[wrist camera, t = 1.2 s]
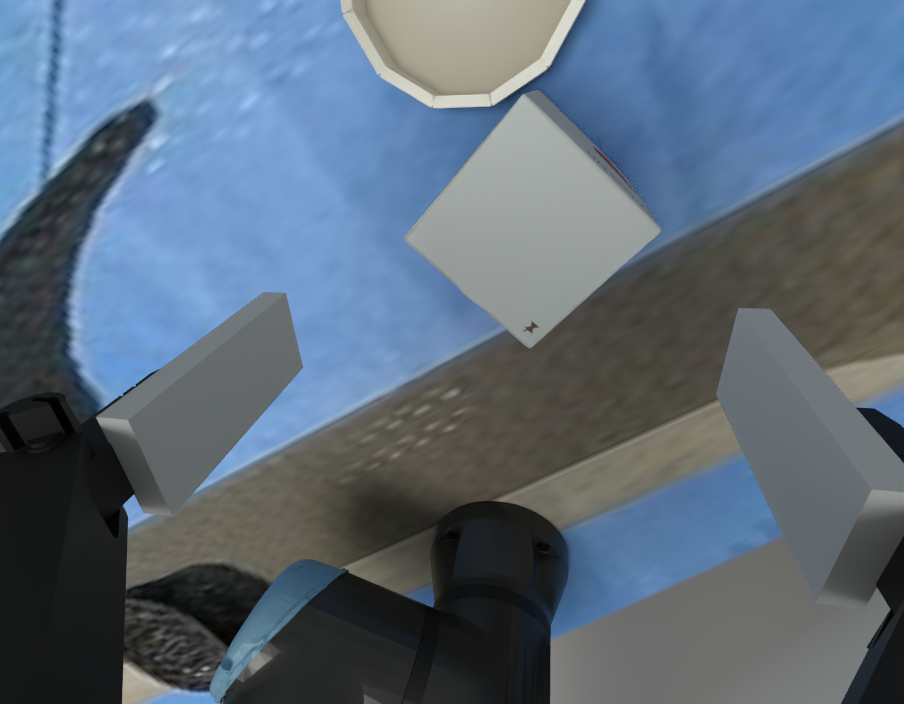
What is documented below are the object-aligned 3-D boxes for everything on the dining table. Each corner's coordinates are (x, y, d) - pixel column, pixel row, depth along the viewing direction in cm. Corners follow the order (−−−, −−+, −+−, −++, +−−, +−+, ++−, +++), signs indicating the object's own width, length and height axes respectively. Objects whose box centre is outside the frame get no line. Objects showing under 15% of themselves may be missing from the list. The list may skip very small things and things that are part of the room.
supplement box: (630, 177, 35) (671, 235, 22) (539, 265, 39) (529, 356, 26) (538, 83, 33) (524, 86, 20) (453, 185, 37) (398, 242, 25)
